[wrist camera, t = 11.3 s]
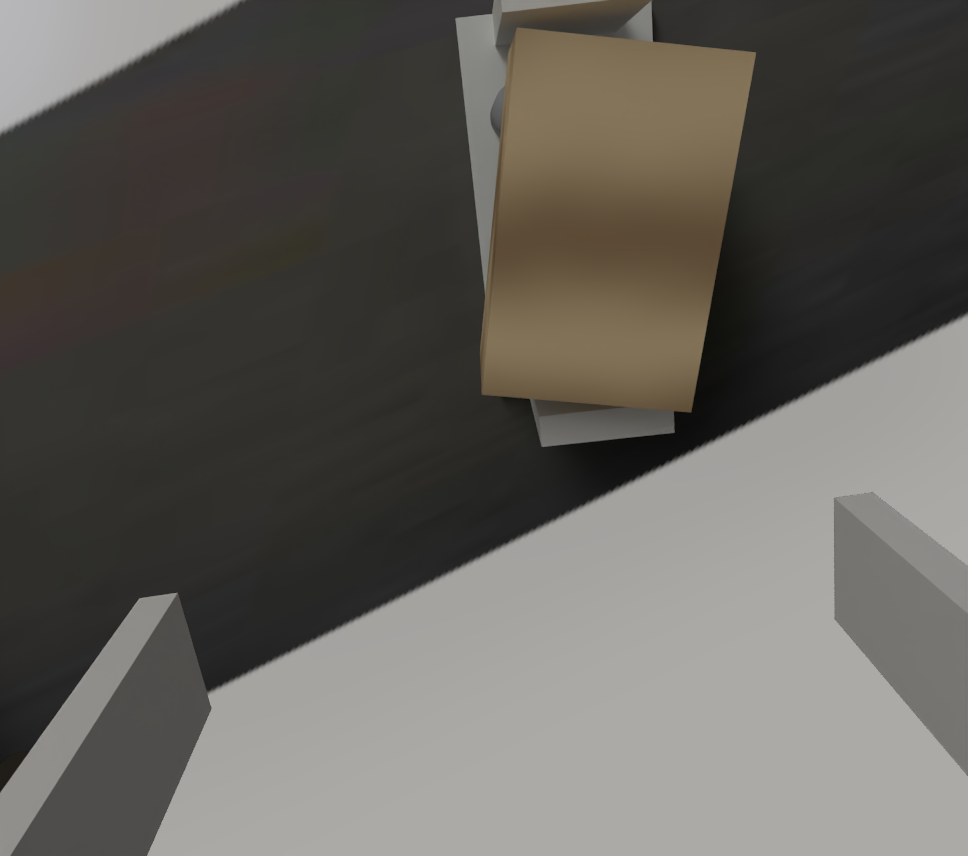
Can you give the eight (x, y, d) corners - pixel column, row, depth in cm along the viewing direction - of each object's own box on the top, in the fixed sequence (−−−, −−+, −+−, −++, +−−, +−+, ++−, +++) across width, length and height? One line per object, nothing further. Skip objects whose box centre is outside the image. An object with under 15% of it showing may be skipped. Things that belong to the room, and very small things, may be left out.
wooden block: (508, 53, 29) (517, 27, 23) (700, 73, 29) (756, 52, 24) (479, 353, 32) (481, 394, 27) (652, 368, 33) (691, 412, 27)
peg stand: (495, 387, 39) (502, 451, 31) (455, 22, 34) (450, -25, 26) (660, 369, 39) (714, 428, 30) (646, 0, 34) (705, -54, 25)
